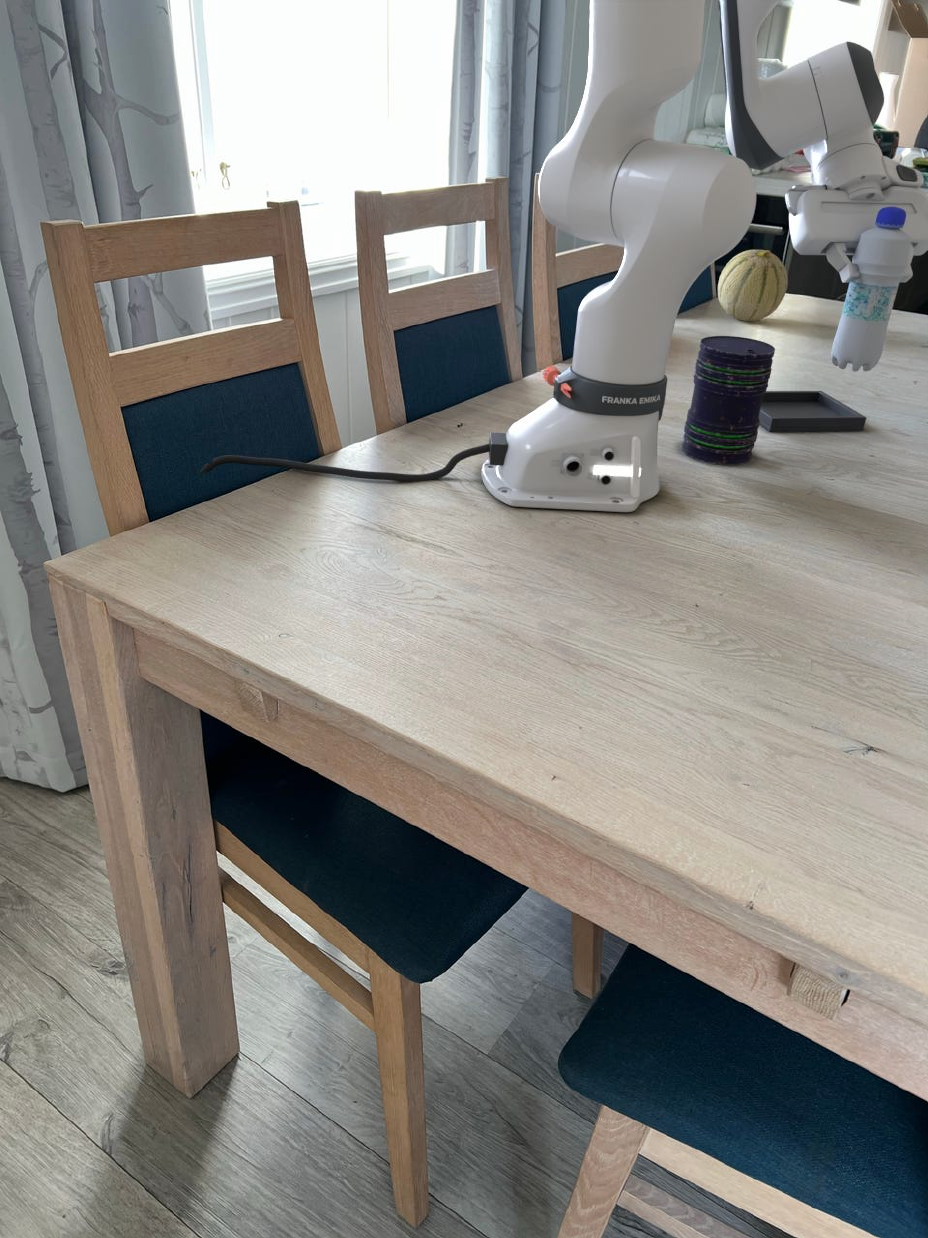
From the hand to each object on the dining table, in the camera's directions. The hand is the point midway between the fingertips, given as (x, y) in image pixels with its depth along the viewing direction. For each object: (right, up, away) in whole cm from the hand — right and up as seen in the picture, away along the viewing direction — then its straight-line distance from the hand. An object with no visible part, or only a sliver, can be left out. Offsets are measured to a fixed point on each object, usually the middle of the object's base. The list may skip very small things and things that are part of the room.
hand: (878, 279), depth 120 cm
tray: (-1, -12, +28) cm, 30 cm away
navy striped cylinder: (-18, -20, +11) cm, 29 cm away
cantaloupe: (+9, +23, +88) cm, 91 cm away
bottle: (-1, -10, +6) cm, 12 cm away
